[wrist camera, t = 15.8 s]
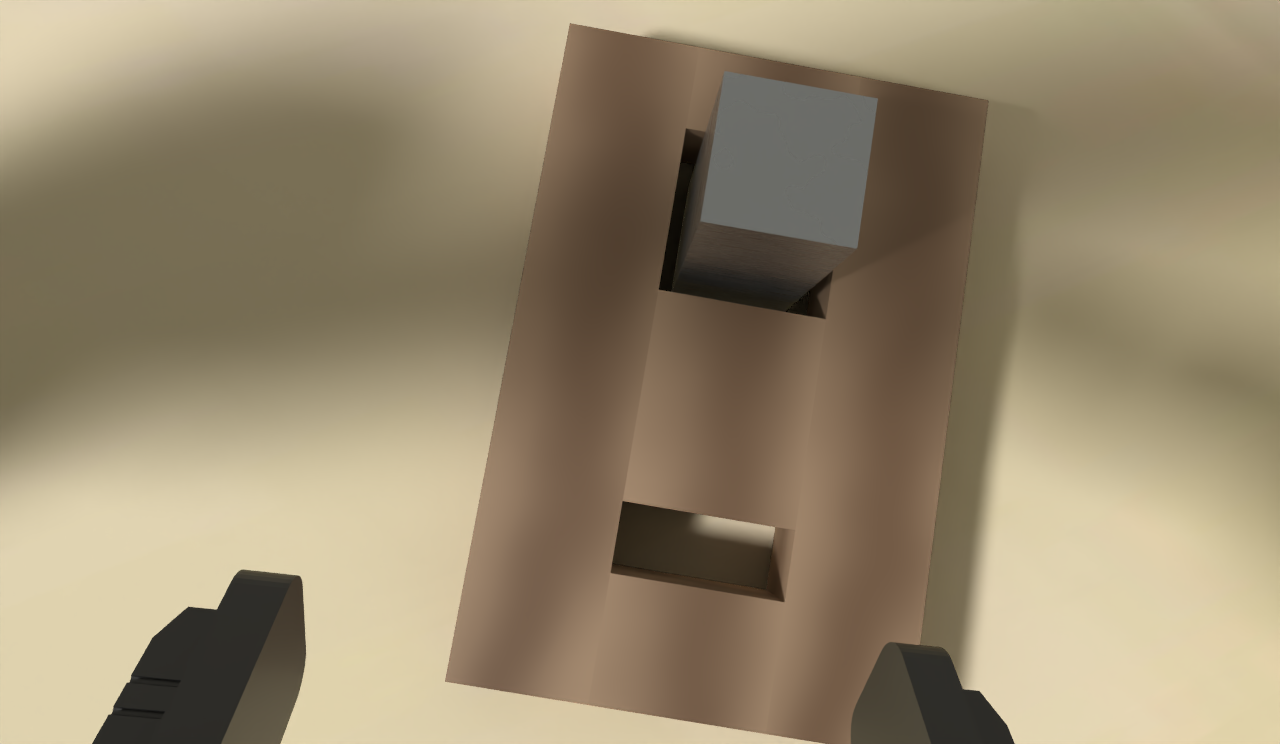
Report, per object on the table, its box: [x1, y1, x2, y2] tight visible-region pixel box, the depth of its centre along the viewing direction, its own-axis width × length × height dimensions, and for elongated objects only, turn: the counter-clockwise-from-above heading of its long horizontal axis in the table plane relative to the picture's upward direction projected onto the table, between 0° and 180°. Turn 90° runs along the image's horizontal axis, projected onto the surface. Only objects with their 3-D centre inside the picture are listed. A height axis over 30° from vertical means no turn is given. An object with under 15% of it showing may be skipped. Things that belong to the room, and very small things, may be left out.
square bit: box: [671, 71, 878, 312], centre depth 27 cm, size 4×4×9 cm
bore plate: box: [445, 23, 988, 744], centre depth 29 cm, size 14×21×3 cm, turn 170°
